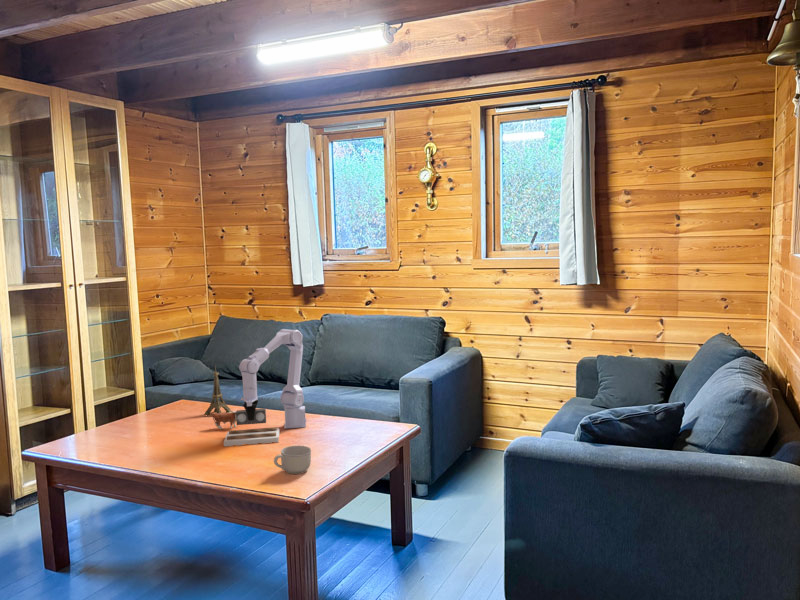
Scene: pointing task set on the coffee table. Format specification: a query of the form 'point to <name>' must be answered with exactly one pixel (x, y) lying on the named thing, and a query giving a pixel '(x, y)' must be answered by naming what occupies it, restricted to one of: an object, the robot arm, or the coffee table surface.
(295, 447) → the teacup
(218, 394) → the eiffel tower
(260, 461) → the coffee table surface
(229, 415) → the bull figurine
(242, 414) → the grey rectangular block
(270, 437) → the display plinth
